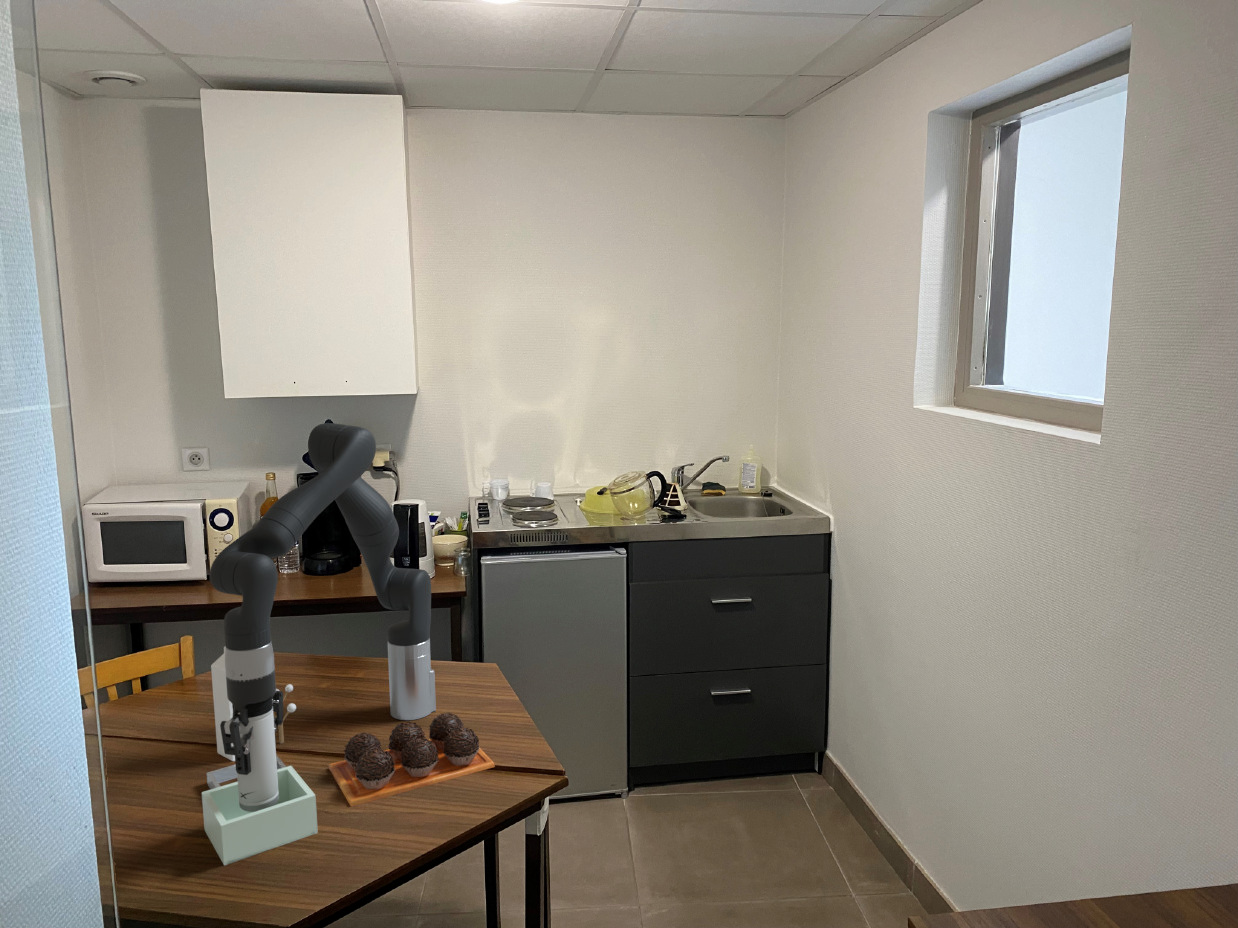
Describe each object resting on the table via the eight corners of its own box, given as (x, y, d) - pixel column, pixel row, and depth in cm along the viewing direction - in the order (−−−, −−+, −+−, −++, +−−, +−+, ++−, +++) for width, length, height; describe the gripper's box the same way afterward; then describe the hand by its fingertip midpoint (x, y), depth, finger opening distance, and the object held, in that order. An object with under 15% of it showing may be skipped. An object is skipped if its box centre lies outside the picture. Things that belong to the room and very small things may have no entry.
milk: (244, 742, 182) (238, 641, 178) (260, 750, 178) (254, 647, 175) (216, 753, 177) (209, 649, 174) (232, 762, 173) (225, 656, 170)
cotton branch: (298, 747, 179) (294, 692, 177) (264, 752, 177) (260, 696, 175) (299, 732, 186) (296, 679, 184) (266, 736, 184) (263, 682, 182)
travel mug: (241, 817, 143) (233, 702, 140) (237, 798, 149) (229, 688, 146) (282, 807, 146) (274, 694, 143) (276, 789, 152) (268, 681, 149)
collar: (275, 764, 172) (275, 752, 172) (294, 788, 163) (294, 776, 163) (207, 784, 164) (206, 772, 164) (223, 811, 155) (222, 798, 155)
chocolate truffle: (463, 737, 185) (462, 699, 184) (494, 770, 171) (493, 729, 170) (329, 771, 171) (326, 731, 169) (351, 810, 157) (348, 766, 155)
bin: (293, 802, 158) (291, 765, 157) (317, 834, 148) (315, 795, 147) (204, 831, 149) (201, 792, 148) (224, 867, 139) (221, 825, 138)
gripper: (243, 688, 137) (250, 787, 139) (295, 655, 151) (300, 746, 153) (201, 684, 138) (209, 782, 141) (256, 652, 152) (262, 741, 155)
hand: (256, 763), depth 147 cm, fingers closed on travel mug, 6 cm apart
